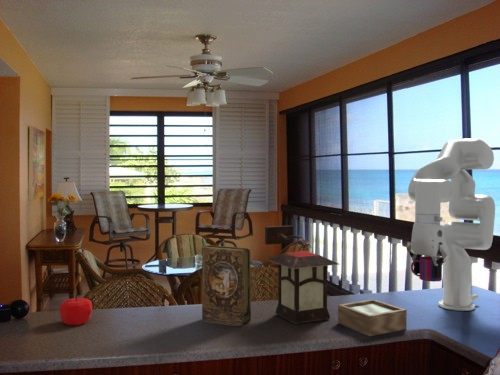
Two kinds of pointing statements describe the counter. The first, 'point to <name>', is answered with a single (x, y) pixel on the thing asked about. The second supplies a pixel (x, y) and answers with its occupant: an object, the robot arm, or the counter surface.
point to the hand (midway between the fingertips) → (426, 275)
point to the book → (226, 285)
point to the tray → (372, 317)
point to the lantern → (299, 280)
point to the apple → (75, 311)
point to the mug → (426, 269)
